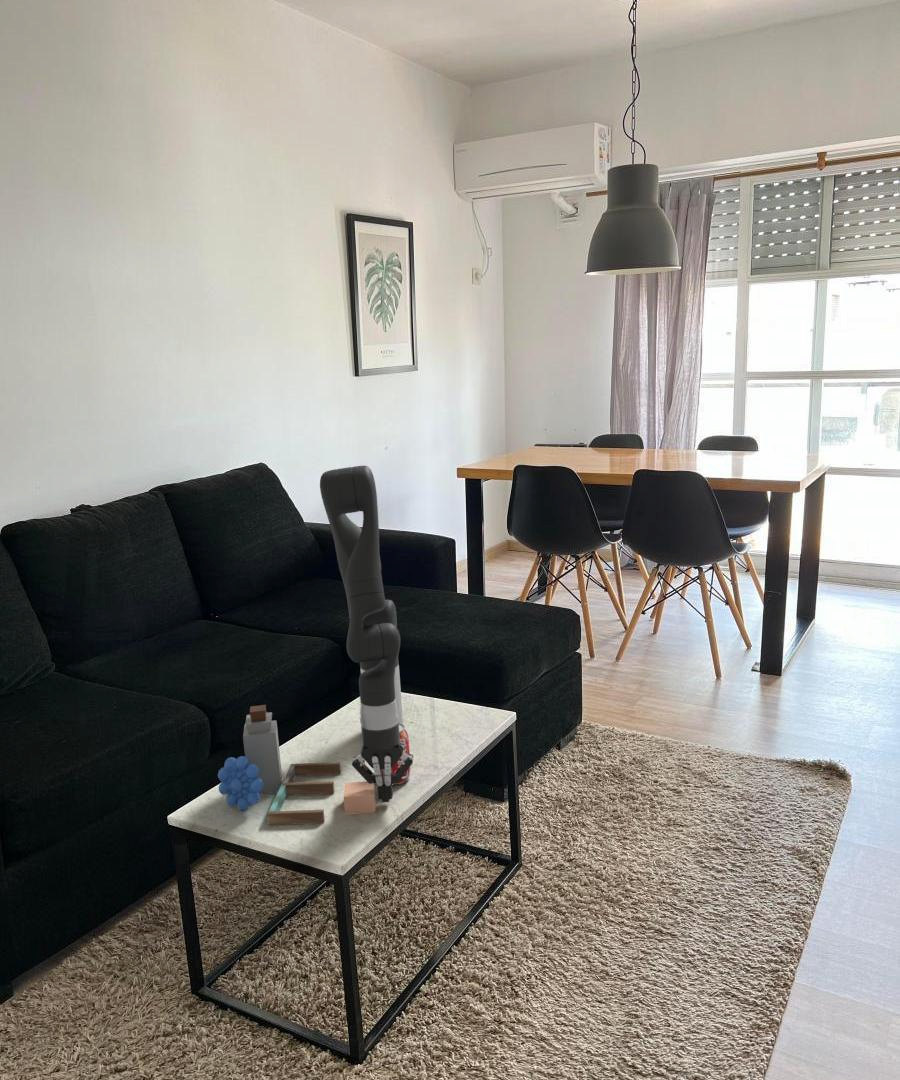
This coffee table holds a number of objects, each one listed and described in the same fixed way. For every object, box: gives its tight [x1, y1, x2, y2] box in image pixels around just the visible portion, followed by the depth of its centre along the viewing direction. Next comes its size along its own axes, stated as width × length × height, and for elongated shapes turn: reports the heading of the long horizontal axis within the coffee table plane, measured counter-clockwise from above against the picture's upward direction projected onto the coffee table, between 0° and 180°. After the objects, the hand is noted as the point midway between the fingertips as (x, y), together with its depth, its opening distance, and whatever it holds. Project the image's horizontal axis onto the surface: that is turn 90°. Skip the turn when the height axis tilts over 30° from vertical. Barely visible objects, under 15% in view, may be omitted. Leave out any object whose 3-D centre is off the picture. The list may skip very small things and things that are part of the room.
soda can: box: [383, 723, 412, 785], centre depth 193 cm, size 7×7×12 cm
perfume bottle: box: [242, 704, 283, 795], centre depth 193 cm, size 7×7×18 cm
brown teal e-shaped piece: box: [267, 761, 342, 826], centre depth 188 cm, size 22×11×2 cm, turn 178°
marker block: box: [343, 780, 376, 815], centre depth 183 cm, size 6×6×4 cm
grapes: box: [217, 755, 263, 811], centre depth 184 cm, size 12×7×12 cm, turn 62°
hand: (385, 800), depth 183 cm, fingers closed
